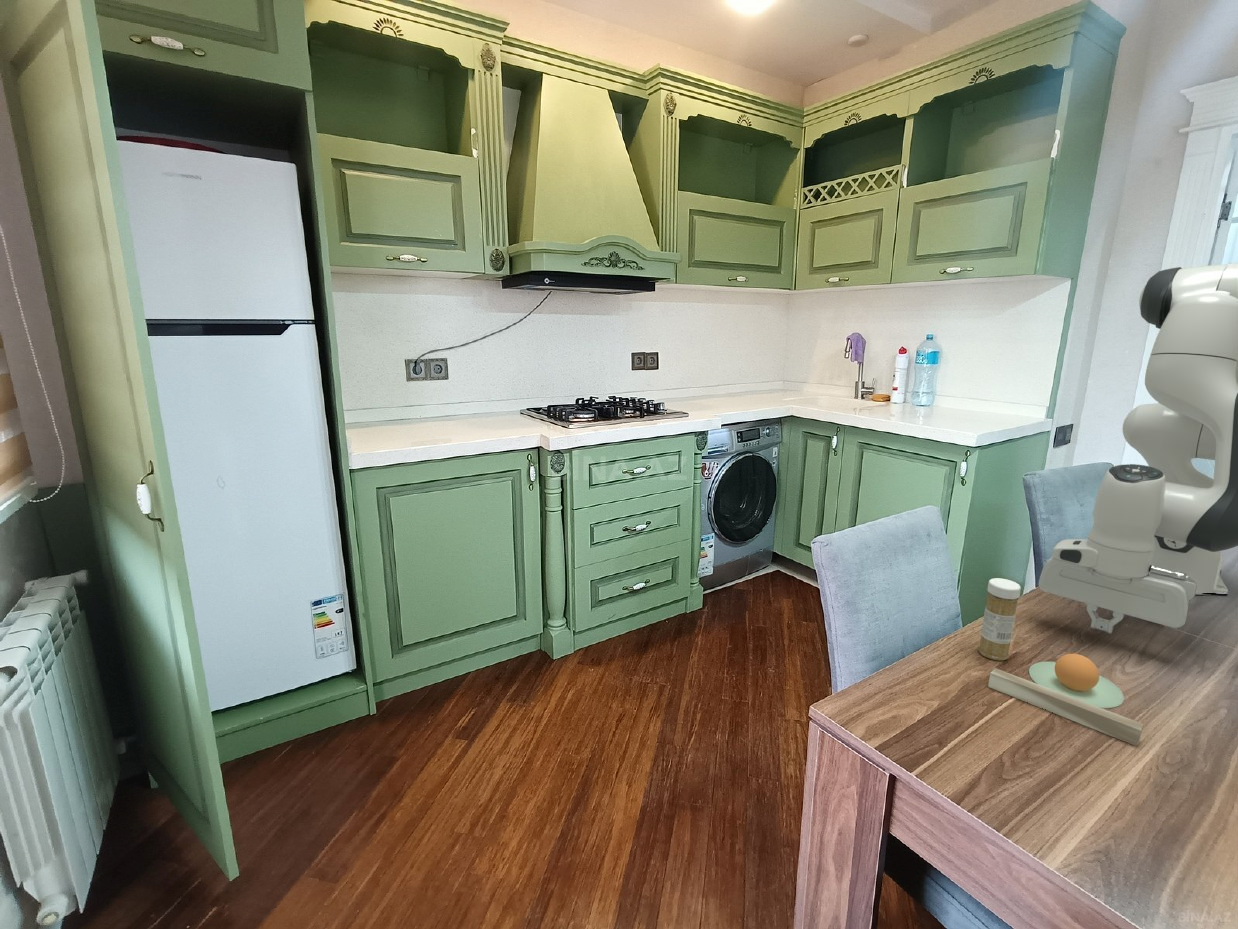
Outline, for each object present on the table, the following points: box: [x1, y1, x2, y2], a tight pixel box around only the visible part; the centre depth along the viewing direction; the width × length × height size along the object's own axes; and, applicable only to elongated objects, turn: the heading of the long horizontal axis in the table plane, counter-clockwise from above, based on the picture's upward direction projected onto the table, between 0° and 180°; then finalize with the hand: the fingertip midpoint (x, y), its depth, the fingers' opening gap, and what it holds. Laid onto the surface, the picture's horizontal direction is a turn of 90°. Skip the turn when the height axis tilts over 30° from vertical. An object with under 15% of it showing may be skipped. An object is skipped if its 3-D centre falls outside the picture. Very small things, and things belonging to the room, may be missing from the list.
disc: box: [1028, 661, 1125, 709], centre depth 93 cm, size 12×12×1 cm
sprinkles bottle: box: [977, 577, 1022, 662], centre depth 100 cm, size 5×5×14 cm
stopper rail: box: [987, 667, 1144, 747], centre depth 86 cm, size 2×18×2 cm, turn 42°
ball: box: [1055, 653, 1100, 691], centre depth 91 cm, size 6×6×6 cm
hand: (1101, 629), depth 105 cm, fingers closed
